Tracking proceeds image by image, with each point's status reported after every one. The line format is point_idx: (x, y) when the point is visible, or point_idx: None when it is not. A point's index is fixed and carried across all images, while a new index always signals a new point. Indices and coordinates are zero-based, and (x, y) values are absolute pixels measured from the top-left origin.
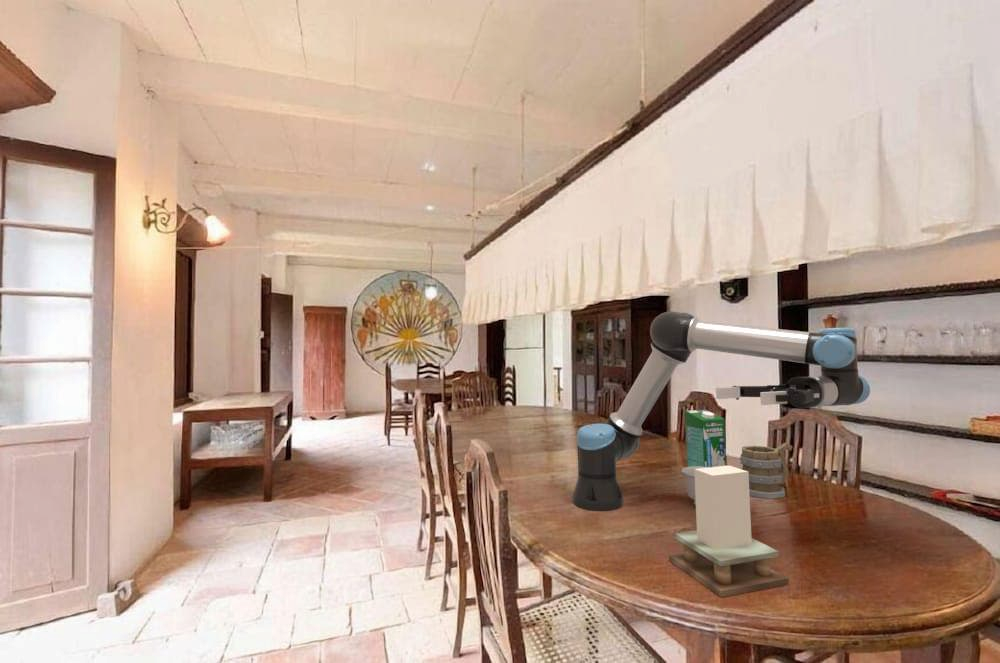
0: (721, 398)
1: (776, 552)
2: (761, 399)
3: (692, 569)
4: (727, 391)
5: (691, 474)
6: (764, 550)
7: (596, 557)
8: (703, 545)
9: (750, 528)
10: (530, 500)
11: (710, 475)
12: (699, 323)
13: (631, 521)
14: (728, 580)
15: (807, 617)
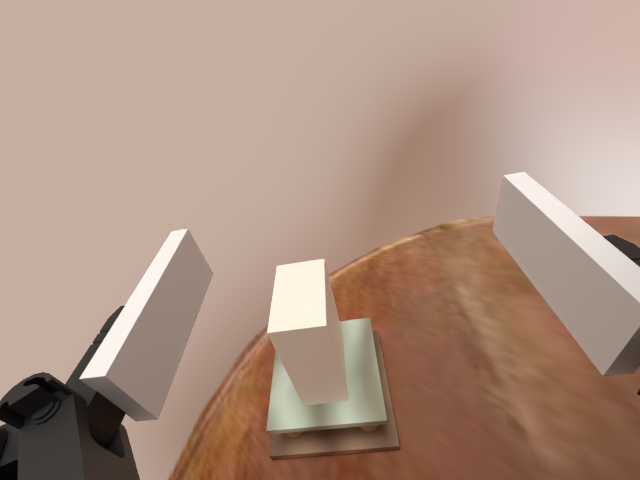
0: (502, 242)
1: (267, 426)
2: (198, 256)
3: None
4: (536, 238)
5: None
6: (277, 408)
7: (399, 268)
8: None
9: (297, 392)
10: (627, 229)
11: (281, 265)
12: None
13: (546, 343)
14: None
15: (213, 413)
